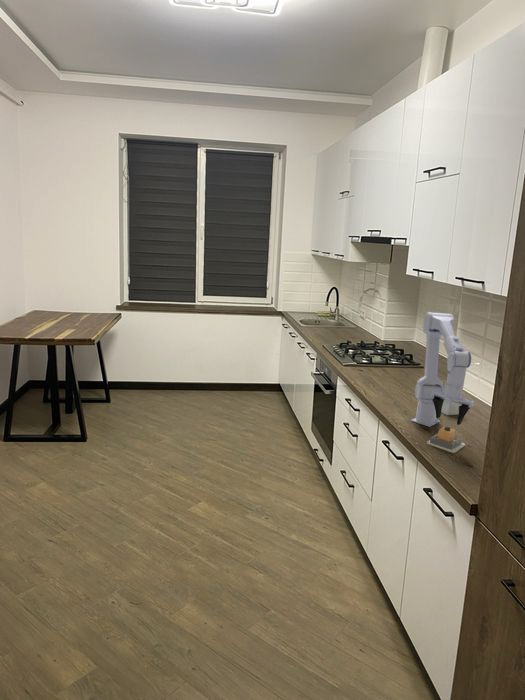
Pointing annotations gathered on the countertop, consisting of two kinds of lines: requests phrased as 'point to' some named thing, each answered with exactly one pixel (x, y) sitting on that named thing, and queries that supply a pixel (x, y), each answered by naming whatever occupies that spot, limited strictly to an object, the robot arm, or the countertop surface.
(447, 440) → the block
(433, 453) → the countertop surface
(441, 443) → the end holder
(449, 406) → the white block
